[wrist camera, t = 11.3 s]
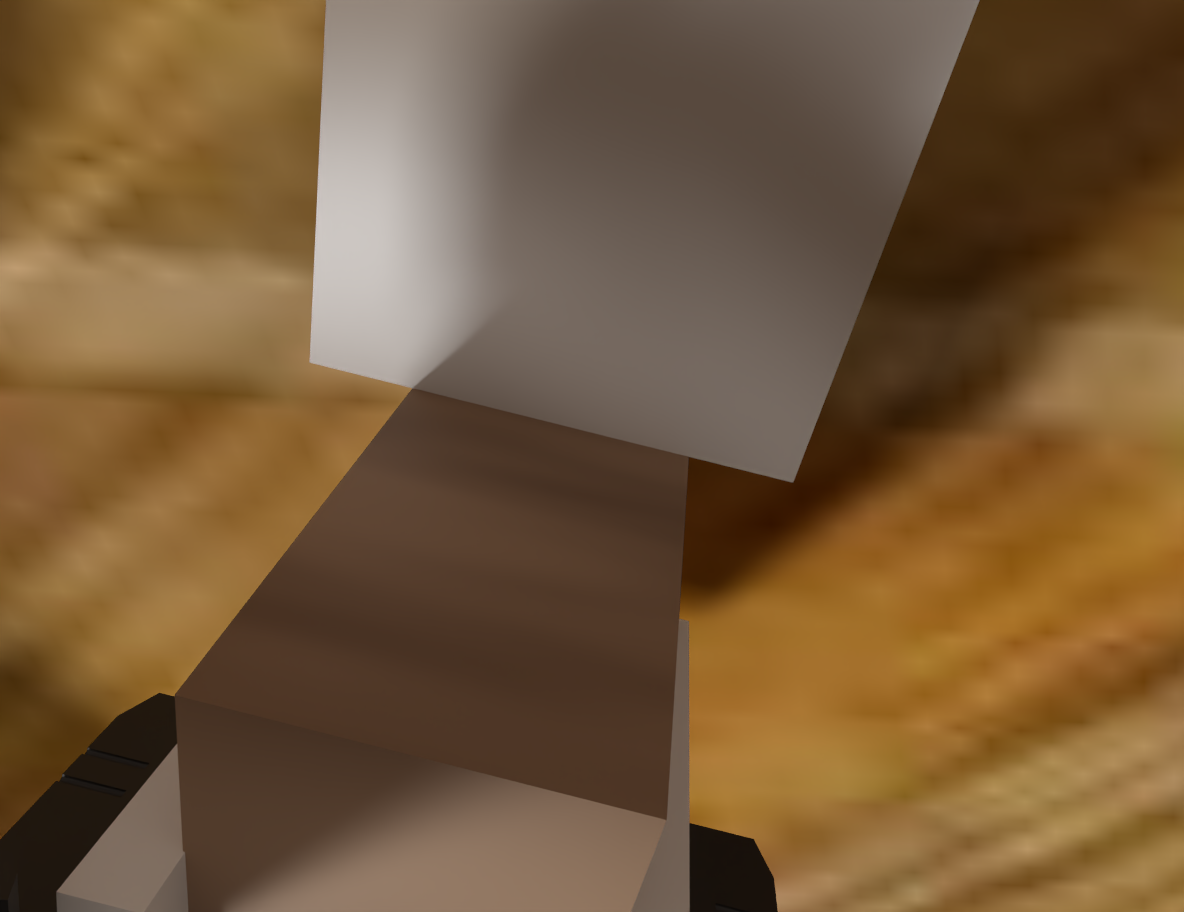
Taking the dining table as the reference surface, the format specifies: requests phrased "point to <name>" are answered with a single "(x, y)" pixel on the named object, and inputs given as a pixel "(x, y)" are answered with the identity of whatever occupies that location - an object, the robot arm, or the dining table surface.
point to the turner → (539, 426)
